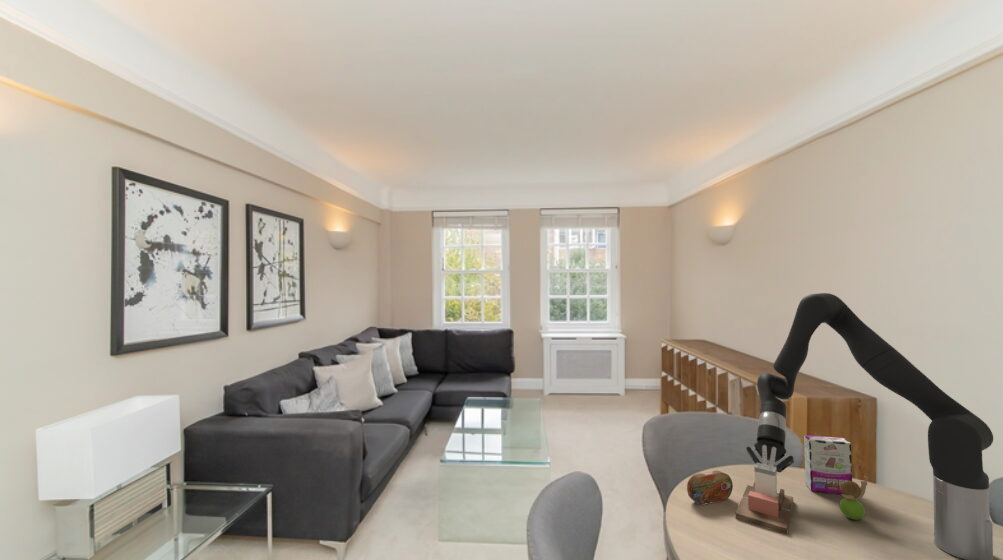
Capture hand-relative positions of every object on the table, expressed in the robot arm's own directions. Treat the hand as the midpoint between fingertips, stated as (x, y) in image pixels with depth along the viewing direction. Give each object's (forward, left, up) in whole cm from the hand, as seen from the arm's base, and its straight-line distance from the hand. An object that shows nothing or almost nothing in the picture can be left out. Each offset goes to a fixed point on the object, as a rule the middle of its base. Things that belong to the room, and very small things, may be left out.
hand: (767, 482), depth 124 cm
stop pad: (0, +9, -5) cm, 10 cm away
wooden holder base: (0, +5, -6) cm, 8 cm away
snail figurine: (-20, -5, -7) cm, 22 cm away
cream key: (0, +3, -4) cm, 5 cm away
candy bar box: (-14, -20, -7) cm, 26 cm away
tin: (+14, +9, -7) cm, 18 cm away
